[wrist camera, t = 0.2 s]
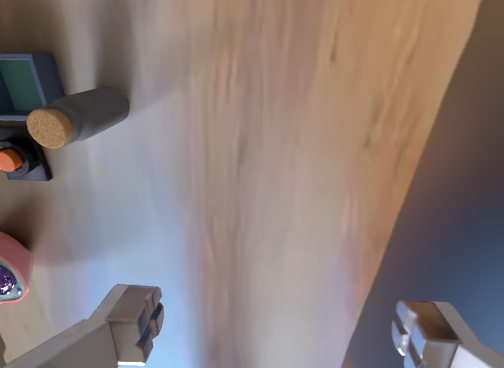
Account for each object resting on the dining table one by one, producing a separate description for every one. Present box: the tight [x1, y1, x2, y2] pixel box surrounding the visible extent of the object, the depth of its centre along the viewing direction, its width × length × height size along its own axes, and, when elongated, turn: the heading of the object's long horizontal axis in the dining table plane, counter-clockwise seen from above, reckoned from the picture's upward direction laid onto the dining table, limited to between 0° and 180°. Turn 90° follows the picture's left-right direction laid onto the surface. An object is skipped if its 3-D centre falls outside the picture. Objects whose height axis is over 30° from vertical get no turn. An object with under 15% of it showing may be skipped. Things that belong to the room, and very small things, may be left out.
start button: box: [0, 149, 22, 172], centre depth 49 cm, size 4×4×2 cm
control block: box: [0, 126, 52, 181], centre depth 51 cm, size 10×8×3 cm
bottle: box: [27, 87, 129, 148], centre depth 40 cm, size 6×6×15 cm
